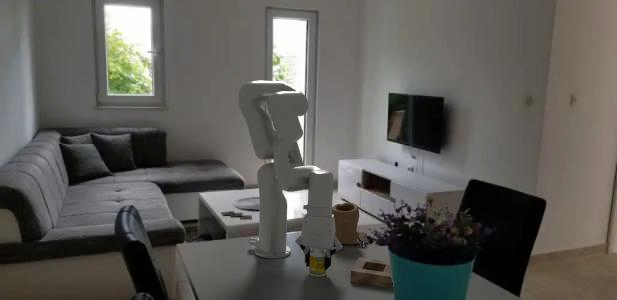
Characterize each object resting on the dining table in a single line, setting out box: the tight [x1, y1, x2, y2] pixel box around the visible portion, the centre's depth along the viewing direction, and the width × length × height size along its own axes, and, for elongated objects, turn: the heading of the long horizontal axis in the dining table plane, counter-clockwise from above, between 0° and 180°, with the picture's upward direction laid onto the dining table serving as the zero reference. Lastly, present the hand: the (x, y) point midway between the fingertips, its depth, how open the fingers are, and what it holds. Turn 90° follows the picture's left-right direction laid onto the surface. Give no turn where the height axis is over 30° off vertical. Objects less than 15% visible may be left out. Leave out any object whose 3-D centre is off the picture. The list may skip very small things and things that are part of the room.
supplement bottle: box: [308, 247, 327, 278], centre depth 155 cm, size 5×5×10 cm
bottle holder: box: [350, 257, 393, 289], centre depth 154 cm, size 12×12×4 cm
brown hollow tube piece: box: [332, 202, 368, 245], centre depth 184 cm, size 15×12×15 cm
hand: (317, 266), depth 155 cm, fingers closed on supplement bottle, 5 cm apart
